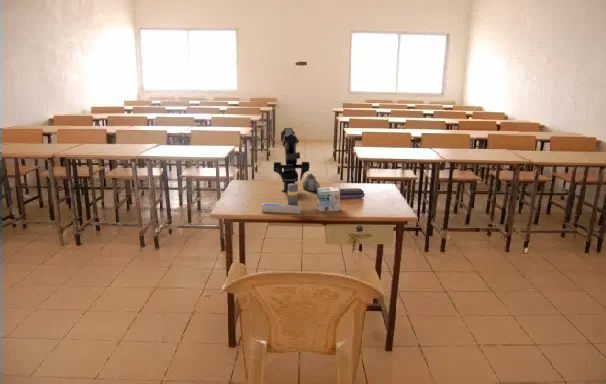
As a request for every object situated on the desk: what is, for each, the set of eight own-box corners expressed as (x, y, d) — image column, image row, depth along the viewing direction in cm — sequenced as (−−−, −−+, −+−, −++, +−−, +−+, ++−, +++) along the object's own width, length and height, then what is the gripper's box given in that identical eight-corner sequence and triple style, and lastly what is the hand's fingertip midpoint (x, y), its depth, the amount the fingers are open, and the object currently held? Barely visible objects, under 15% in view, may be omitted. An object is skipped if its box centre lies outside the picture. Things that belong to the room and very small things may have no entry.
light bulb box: (319, 212, 229) (319, 191, 226) (316, 207, 235) (316, 187, 232) (340, 210, 231) (340, 190, 228) (336, 206, 237) (337, 186, 234)
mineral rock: (320, 194, 260) (321, 176, 257) (301, 193, 260) (302, 176, 257) (320, 187, 272) (321, 171, 269) (302, 187, 273) (302, 171, 270)
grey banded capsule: (285, 209, 233) (285, 184, 229) (293, 207, 236) (293, 182, 233) (292, 211, 229) (292, 186, 226) (300, 209, 232) (300, 184, 229)
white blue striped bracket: (261, 211, 229) (261, 203, 228) (263, 209, 233) (263, 201, 231) (300, 213, 226) (300, 205, 225) (301, 210, 230) (301, 203, 229)
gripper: (273, 146, 236) (274, 172, 229) (309, 146, 238) (311, 172, 230) (273, 158, 246) (273, 183, 238) (307, 158, 247) (309, 183, 240)
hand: (292, 180), depth 237 cm, fingers open, 9 cm apart
